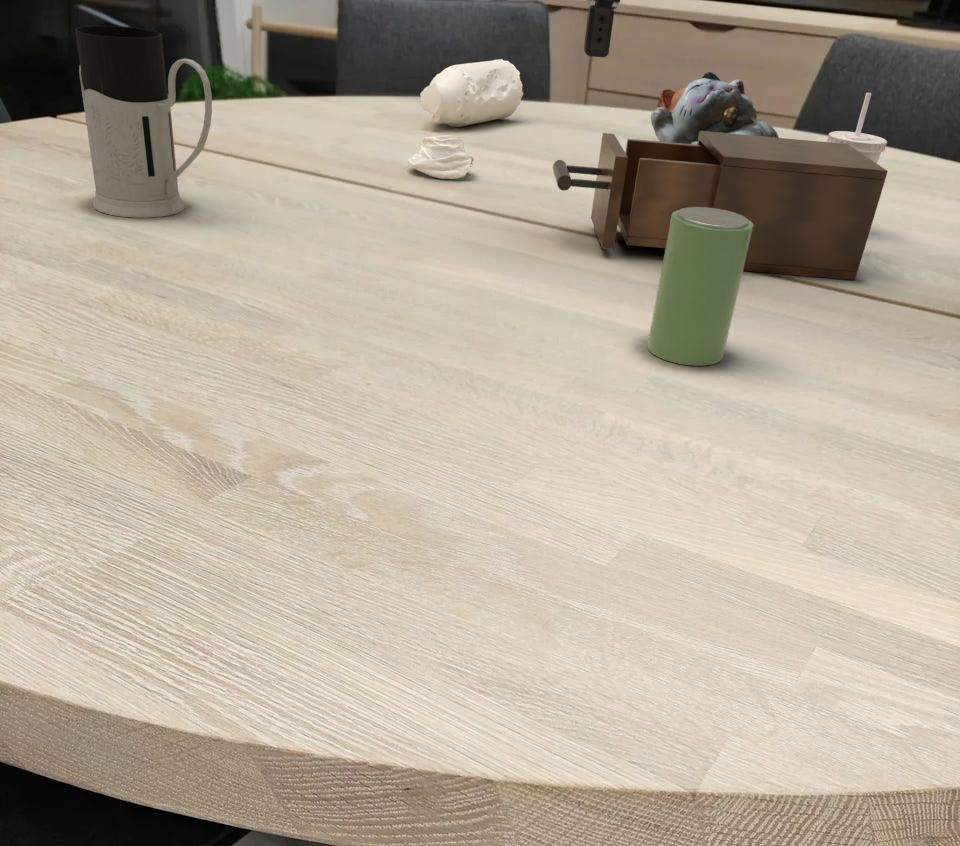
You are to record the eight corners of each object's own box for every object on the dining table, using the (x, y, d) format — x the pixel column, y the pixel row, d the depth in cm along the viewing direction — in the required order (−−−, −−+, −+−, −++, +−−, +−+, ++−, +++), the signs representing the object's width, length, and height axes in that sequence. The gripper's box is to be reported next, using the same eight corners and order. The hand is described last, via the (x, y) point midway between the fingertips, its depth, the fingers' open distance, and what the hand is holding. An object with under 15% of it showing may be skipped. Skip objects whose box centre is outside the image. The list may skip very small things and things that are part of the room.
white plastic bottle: (406, 126, 144) (407, 64, 139) (477, 113, 157) (481, 55, 152) (451, 136, 141) (454, 72, 136) (520, 122, 154) (525, 63, 149)
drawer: (552, 244, 97) (563, 151, 92) (545, 214, 106) (555, 128, 101) (746, 260, 98) (768, 169, 93) (723, 229, 107) (741, 145, 102)
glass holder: (135, 190, 104) (115, 22, 95) (246, 216, 100) (236, 43, 91) (73, 205, 98) (45, 27, 89) (189, 234, 93) (173, 50, 84)
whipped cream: (407, 184, 119) (405, 141, 116) (408, 166, 124) (407, 124, 121) (474, 185, 120) (474, 141, 116) (472, 167, 125) (473, 124, 121)
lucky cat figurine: (693, 194, 123) (665, 73, 119) (656, 210, 135) (628, 101, 130) (800, 157, 125) (776, 38, 121) (754, 176, 137) (730, 68, 132)
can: (714, 340, 81) (744, 209, 75) (729, 368, 77) (763, 230, 70) (642, 335, 81) (666, 202, 75) (653, 362, 76) (679, 223, 70)
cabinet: (700, 267, 98) (724, 156, 92) (679, 232, 108) (699, 130, 102) (855, 280, 99) (888, 170, 93) (819, 244, 109) (847, 143, 103)
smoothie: (796, 227, 114) (832, 90, 106) (815, 217, 119) (850, 85, 110) (850, 239, 112) (891, 100, 103) (867, 229, 116) (908, 95, 108)
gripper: (684, -186, 77) (645, 69, 87) (659, -176, 88) (626, 50, 98) (588, -196, 77) (560, 61, 87) (574, -185, 87) (551, 43, 98)
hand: (595, 55), depth 93 cm, fingers closed
